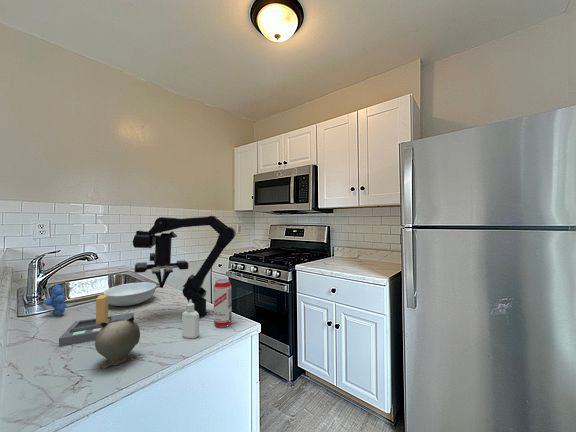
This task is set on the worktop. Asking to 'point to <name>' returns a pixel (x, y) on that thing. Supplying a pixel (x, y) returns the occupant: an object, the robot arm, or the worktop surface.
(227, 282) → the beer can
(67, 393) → the worktop surface
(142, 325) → the worktop surface
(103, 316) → the switch tab
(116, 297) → the serving bowl
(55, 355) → the worktop surface
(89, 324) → the switch housing
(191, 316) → the eye dropper bottle
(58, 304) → the grapes
